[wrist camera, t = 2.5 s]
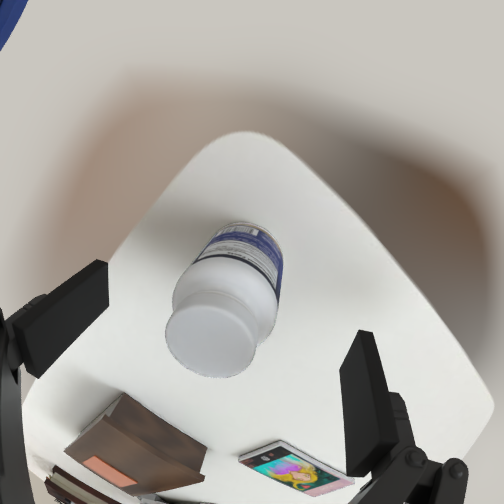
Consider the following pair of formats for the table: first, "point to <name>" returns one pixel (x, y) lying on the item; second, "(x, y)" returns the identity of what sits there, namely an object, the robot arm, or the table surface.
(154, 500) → the alarm clock
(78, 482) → the decorative book
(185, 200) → the table surface
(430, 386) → the table surface
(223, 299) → the pill bottle
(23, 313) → the robot arm
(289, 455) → the smartphone
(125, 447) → the wooden box
